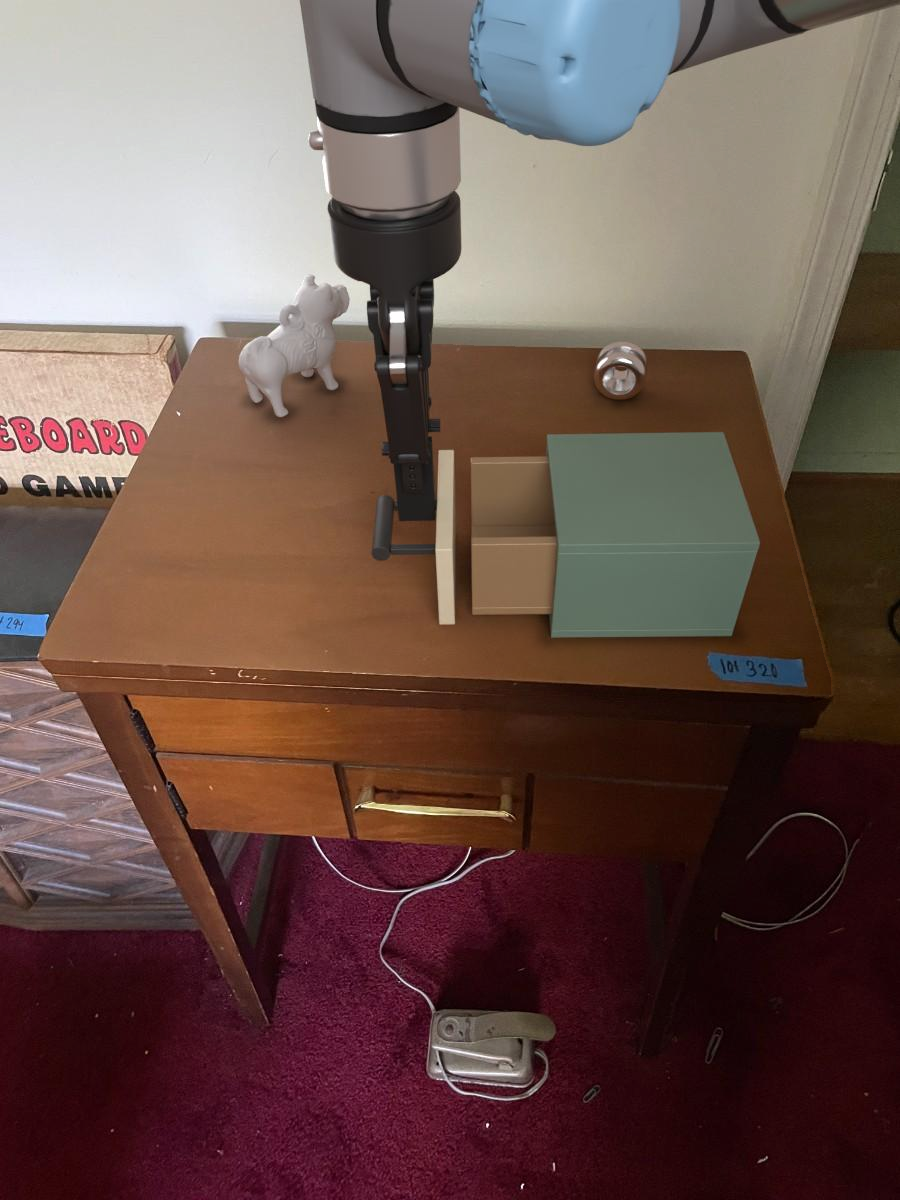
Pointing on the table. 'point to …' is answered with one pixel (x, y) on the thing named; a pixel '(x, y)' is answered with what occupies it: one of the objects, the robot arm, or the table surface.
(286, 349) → the dog figurine
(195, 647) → the table surface
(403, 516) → the robot arm
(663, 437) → the cabinet
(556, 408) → the table surface
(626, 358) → the metal grooved wheel
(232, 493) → the table surface
